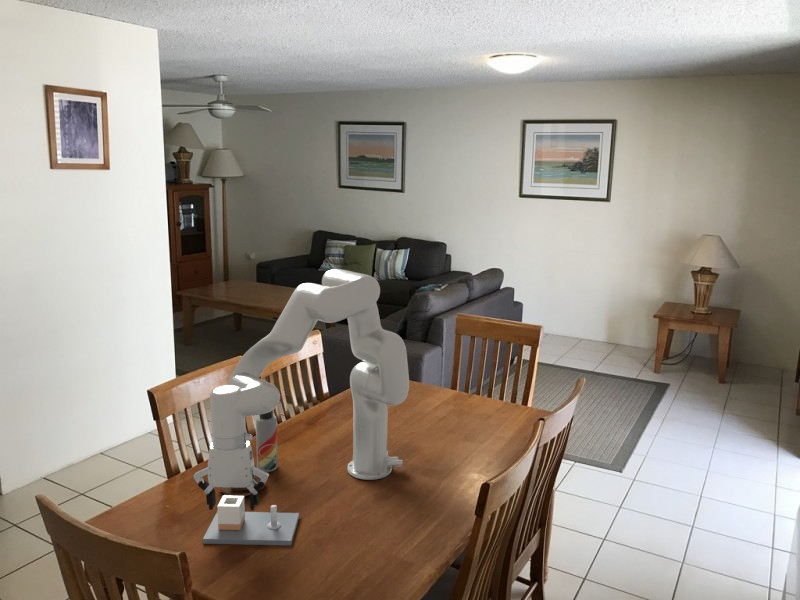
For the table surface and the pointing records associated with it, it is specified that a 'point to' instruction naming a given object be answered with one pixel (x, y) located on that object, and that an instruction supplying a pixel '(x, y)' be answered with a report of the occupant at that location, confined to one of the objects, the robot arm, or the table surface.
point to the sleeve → (231, 512)
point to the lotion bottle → (266, 442)
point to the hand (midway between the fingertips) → (232, 507)
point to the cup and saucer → (239, 489)
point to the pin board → (256, 529)
